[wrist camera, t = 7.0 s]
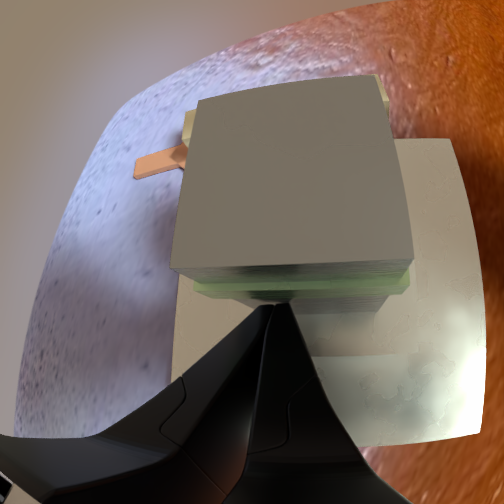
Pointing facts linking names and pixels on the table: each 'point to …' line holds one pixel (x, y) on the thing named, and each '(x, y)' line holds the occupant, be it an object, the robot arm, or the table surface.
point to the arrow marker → (161, 161)
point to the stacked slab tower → (336, 253)
